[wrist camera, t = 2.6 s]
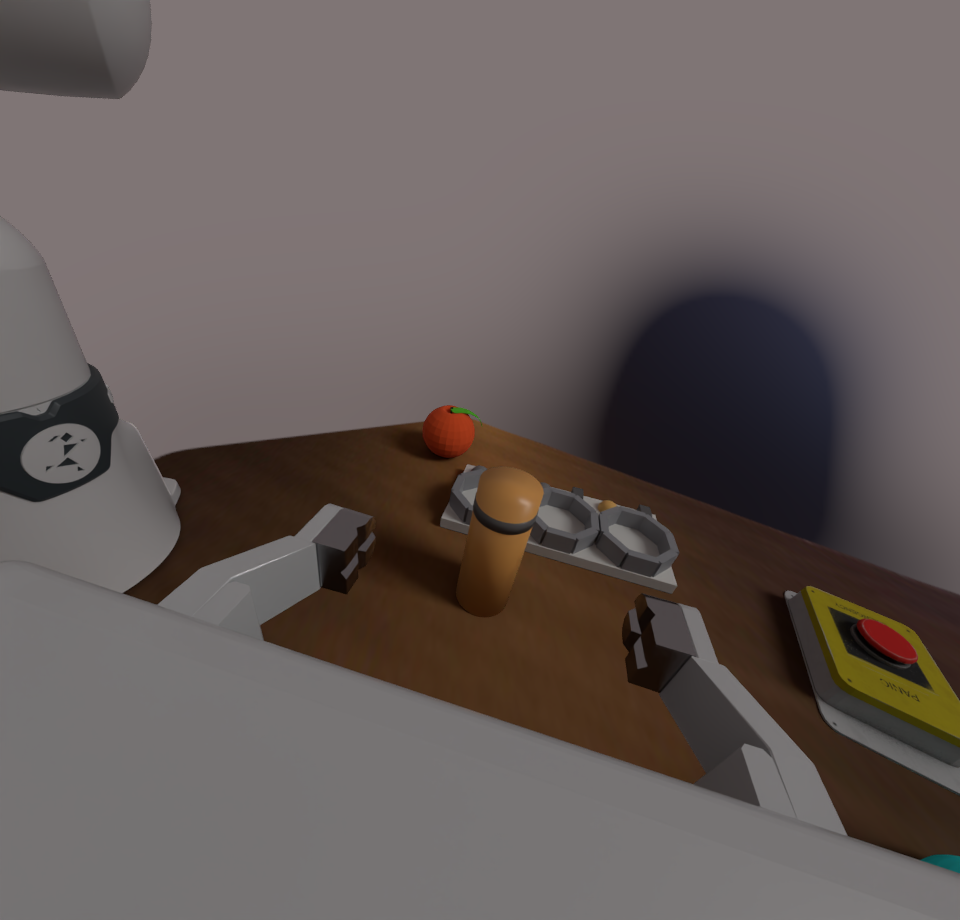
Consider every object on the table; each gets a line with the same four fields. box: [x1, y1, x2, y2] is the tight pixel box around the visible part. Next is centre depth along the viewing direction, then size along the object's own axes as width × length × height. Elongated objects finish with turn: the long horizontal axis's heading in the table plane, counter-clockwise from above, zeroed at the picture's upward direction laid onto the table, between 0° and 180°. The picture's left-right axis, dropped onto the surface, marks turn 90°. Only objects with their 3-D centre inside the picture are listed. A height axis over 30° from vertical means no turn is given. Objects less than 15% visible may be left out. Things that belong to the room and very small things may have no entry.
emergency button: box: [784, 586, 960, 796], centre depth 31 cm, size 9×4×15 cm
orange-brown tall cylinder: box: [456, 467, 544, 617], centre depth 29 cm, size 5×5×12 cm
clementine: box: [423, 405, 482, 458], centre depth 48 cm, size 8×7×7 cm
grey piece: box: [440, 464, 679, 594], centre depth 40 cm, size 24×11×3 cm, turn 77°
